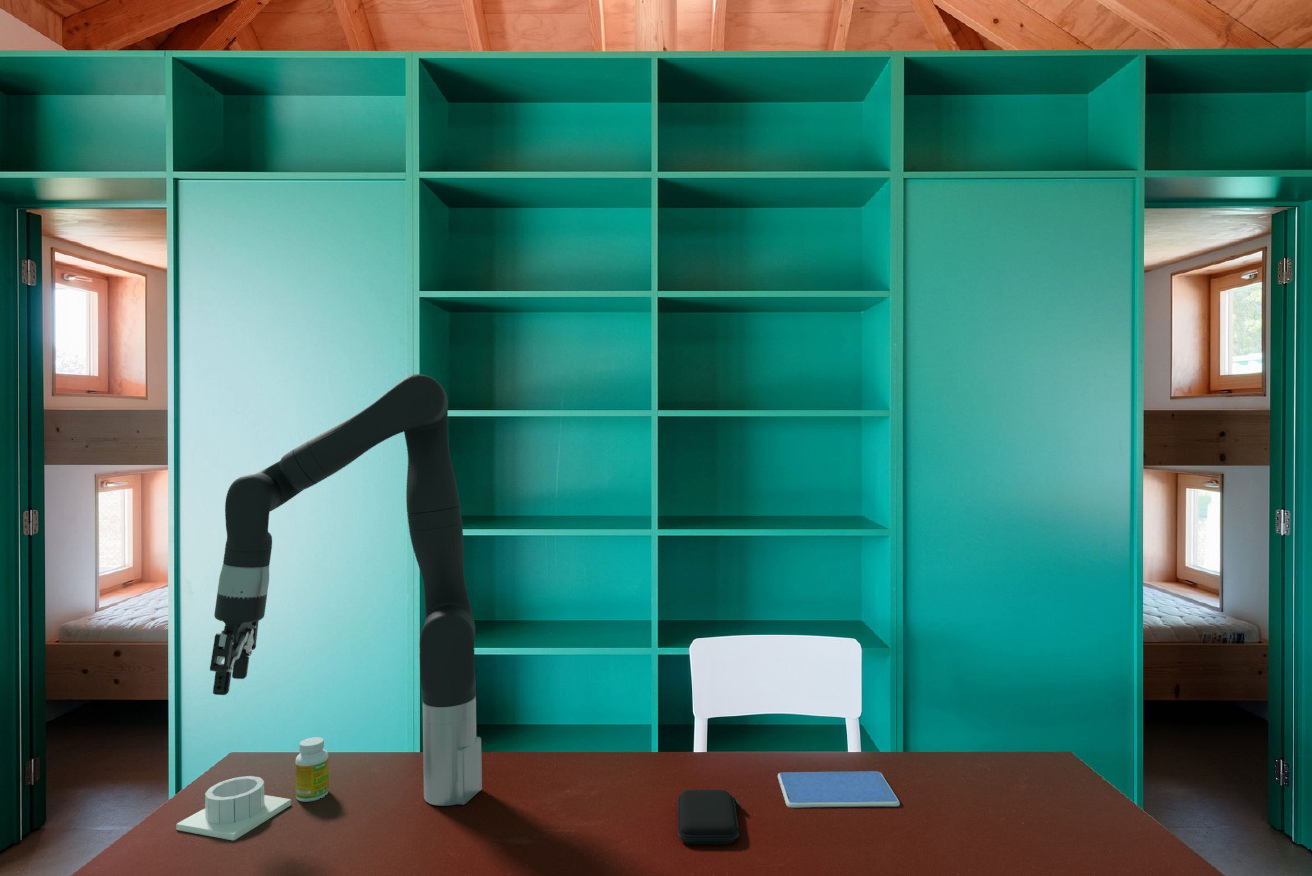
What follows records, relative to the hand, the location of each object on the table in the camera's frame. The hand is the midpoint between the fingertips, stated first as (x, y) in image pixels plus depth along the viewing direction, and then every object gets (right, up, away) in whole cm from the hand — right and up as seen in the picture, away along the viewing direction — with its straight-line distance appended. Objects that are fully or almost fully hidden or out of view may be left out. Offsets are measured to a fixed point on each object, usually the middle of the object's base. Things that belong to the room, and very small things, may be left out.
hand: (230, 685), depth 127 cm
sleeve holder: (+1, -22, 0) cm, 22 cm away
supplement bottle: (+11, -22, +8) cm, 26 cm away
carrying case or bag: (+81, -22, -4) cm, 84 cm away
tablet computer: (+104, -22, +7) cm, 107 cm away
